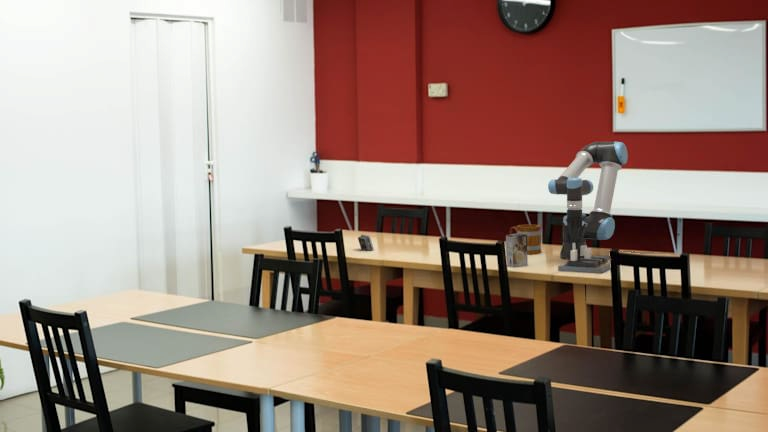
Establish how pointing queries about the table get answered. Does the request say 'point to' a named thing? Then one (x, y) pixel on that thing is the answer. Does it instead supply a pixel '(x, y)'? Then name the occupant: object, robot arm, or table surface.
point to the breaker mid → (587, 253)
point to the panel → (584, 269)
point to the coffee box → (516, 250)
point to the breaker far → (582, 250)
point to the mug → (530, 237)
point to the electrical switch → (365, 242)
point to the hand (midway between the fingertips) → (574, 255)
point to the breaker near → (573, 255)
